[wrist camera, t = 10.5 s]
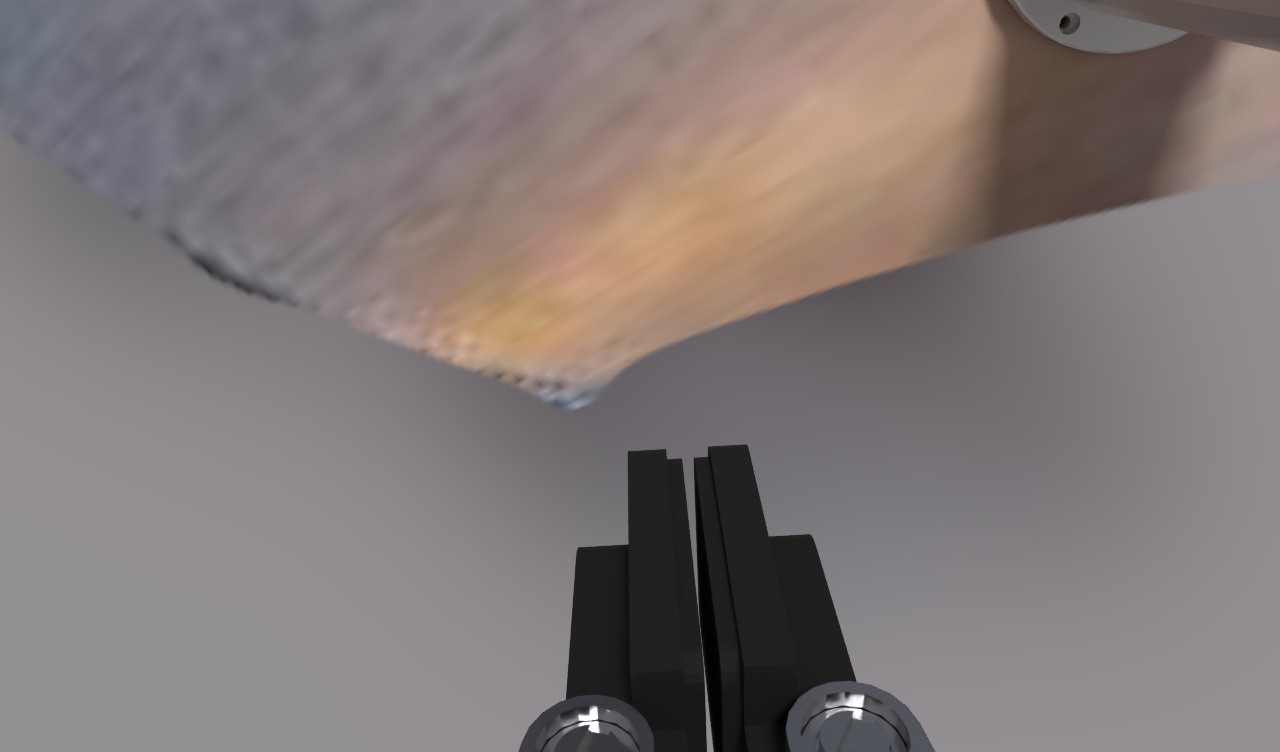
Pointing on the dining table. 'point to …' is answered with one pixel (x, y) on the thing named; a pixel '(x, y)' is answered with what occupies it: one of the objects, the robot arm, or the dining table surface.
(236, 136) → the dining table surface
